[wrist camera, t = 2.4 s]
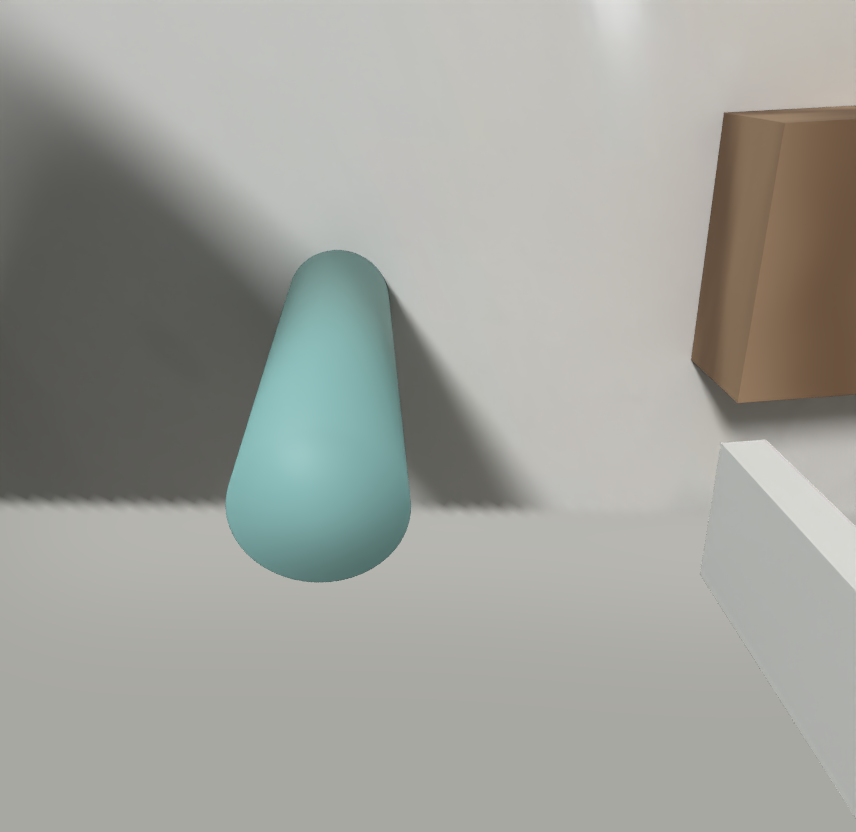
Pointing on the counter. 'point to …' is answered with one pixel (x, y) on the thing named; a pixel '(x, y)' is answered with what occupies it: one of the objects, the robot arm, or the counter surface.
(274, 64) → the counter surface
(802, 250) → the hole block
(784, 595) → the robot arm
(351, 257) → the peg
